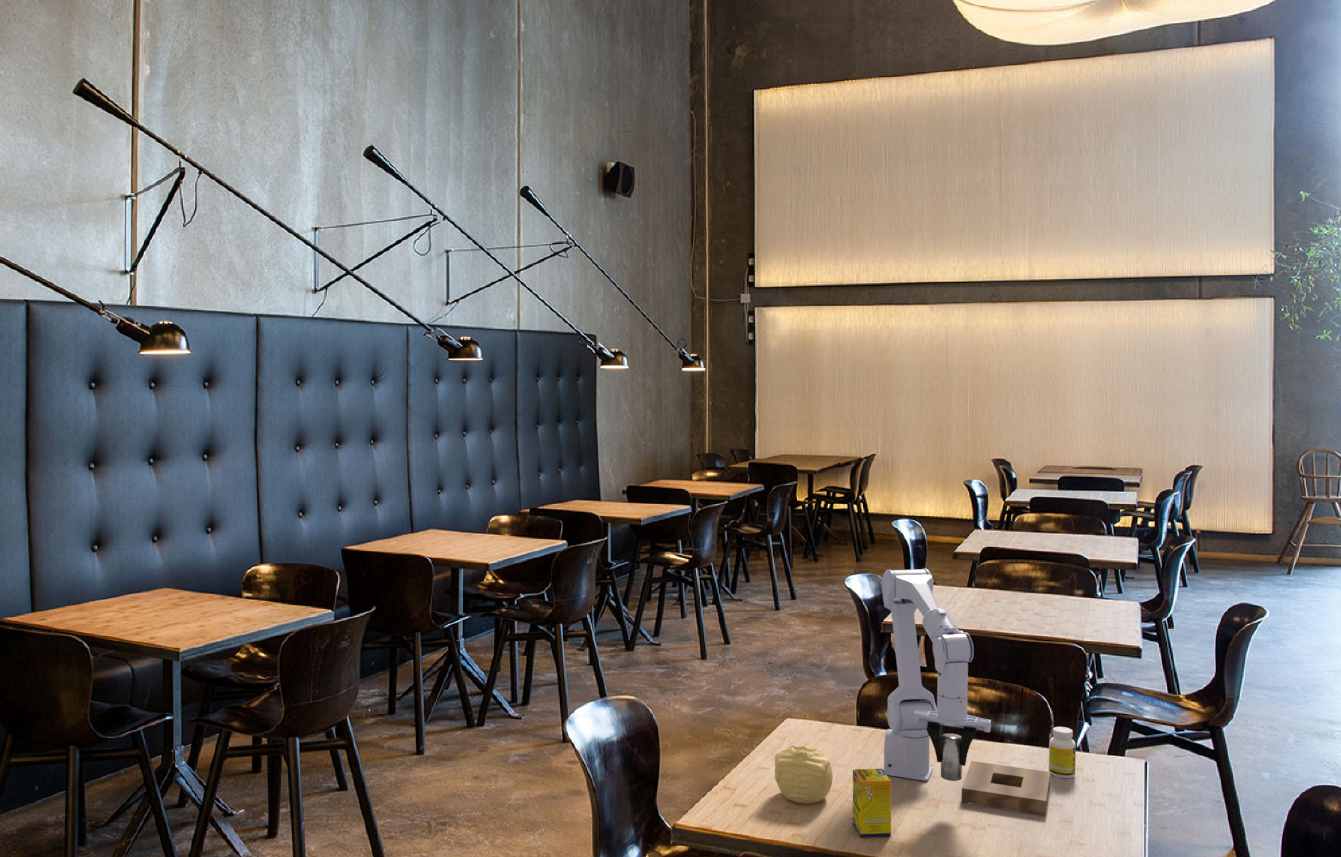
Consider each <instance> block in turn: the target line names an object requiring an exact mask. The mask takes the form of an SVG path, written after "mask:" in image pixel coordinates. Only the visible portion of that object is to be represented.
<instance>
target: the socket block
mask: <svg viewBox="0 0 1341 857" xmlns="http://www.w3.org/2000/svg"><path fill="white" fill-rule="evenodd" d="M966 772H967V773H966V775H965V779H964V781H963V784H962V786H961V803H962V804H967V803H971V804H970V805H973V804H974V806H975V805H976V806H979V807H985V808H986V807H987V808H994V809H1000V810H1004V811H1005V810H1006V811H1013V812H1017V811H1018V813H1025V814H1030V815H1037V816H1044V817H1046V816H1047V810H1048V804H1049V797H1050V789H1051V774H1050V772H1049V771H1046V770H1038V769H1032V768H1031V769H1030V768H1024V767H1018V766H1012V765H1011V766H1010V765H1002V764H997V763H988V762H982V761H975V760H971V761H970V765H969V766H968V769H967V771H966Z"/></svg>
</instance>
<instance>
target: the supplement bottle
mask: <svg viewBox="0 0 1341 857" xmlns="http://www.w3.org/2000/svg"><path fill="white" fill-rule="evenodd" d="M1073 731H1074V730H1073V729H1071V728H1070V727H1065V726H1056V727H1055V726H1054V727H1053V728H1052V735H1053V736H1052V737H1051V738H1050V739H1049V741H1048V742H1049V744H1048V772H1050V776H1051V775H1052V777H1053V776H1054V777H1055V776H1056V778H1059V779H1071V778H1074V777H1075V775H1076V757H1077V756H1076V752H1077V750H1076V749H1077V745H1076V741H1075V740H1074V739H1073Z"/></svg>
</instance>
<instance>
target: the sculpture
mask: <svg viewBox="0 0 1341 857" xmlns="http://www.w3.org/2000/svg"><path fill="white" fill-rule="evenodd" d="M774 768H775V769H774V777H775V782H776V784H777V786H778V788H779V791H780V793H781V794H782V796H783V797H784V798H785V799H787V800H788V801H791V802H793V803H797V804H803V805H811V804H817V803H819V802H821V801H822V800H824V799H825V798H826V797H827V795H828V794H829V792H830V790H831V788H832V785H833V784H832V783H833V776H834V775H833V768H832V764H831V761H830V759H829V758H828V757H827V755H826V754H825V753H824V752H822V751H821V750H820V749H818V748H817V747H814V746H810V745H794V744H792V745H790V746H789V747H788V748H786V749H784V750H781V751H779V752H777V753H776V754H775V756H774Z"/></svg>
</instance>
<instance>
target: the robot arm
mask: <svg viewBox="0 0 1341 857" xmlns="http://www.w3.org/2000/svg"><path fill="white" fill-rule="evenodd" d="M881 590H882V592H881V593H882V600H883V607H884V608H885V609H888V610H889V611H890V615H891V621H892V630H893V639H894V640H893V641H894V649H895V659H896V668H897V669H896V670H897V679H898V680H897V681H898V686H897V687H896V689H894V690H893V691H892V692H891V693H890V694H889V695H888V697H887V709H886V718H887V719H886V720H887V723H888V726H889V728H887V730H885V731H886V732H885V735H884V742H883V743H884V745H883V746H884V748H883V749H884V750H883V751H884V752H883V770H884V772H885V773H886V775H887V776H890V777H891V776H892V777H898V778H905V779H911V780H918V781H924V782H927V781H929V779H930V776H931V775H932V772H933V770H934V766H932V765H930V741H931V742H932V746H933V748H934V753H935V757H936V763H941V736H942V735H943V726H947V727H954V728H962V730H961V733H960V736H961V738H962V755H961V766H962V767H965V766H966V764H967V758H968V754H969V749H970V746H971V744H972V742H973V741H974V738H975V736H976V733H977V731H983V732H984V733H990V732H991V728H992V720H991V719H988V718H987V719H986V718H982V717H979V716H978V717H977V716H974V715H969V714H968V687H969V686H968V684H969V683H968V679H969V678H968V677H969V674H968V672H969V664H968V663H971V662H972V661H973V659H974V649H975V648H974V643H973V640H972V638H971V635H970V634H969V633H968V632H966V631H965V632H964V631H963V630H959V628H958V627H957V625H956V624H955V622H954V621H953V619H952V617H951V616H950V614H949V613H948V611H947V610H946V609H943V608H940V607H939V605H938V603H937V600H936V597H935V596H934V593H933V591H934V579H933V575H932V573H931V571H930V570H929V569H927V568H921V569H919V568H918V569H894V570H893V569H886V570H885V571H884V573H883V575H882V579H881ZM917 610H918V611H919V612H920V614H921V615H922V616H923V618H922V622H921V623H922V627H923V628H924V630H925V633H926V634H927V635H928V637H929V639H930V641H931V642H932V654H933V657H934V667H935V671H937V690H936V691H937V693H936V695H937V696H936V699H937V700H935V696H934V694H933V693H932V692H931V691H929V690H927V688H925V687H924V686H923V682H922V675H921V667H920V666H921V665H920V657H919V656H920V655H919V647H918V638H917V637H918V636H917V629H916V619H915V613H916V611H917ZM904 700H915V701H904ZM917 700H918V701H917ZM919 700H920V701H919ZM935 701H936V702H935ZM936 703H937V704H936Z"/></svg>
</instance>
